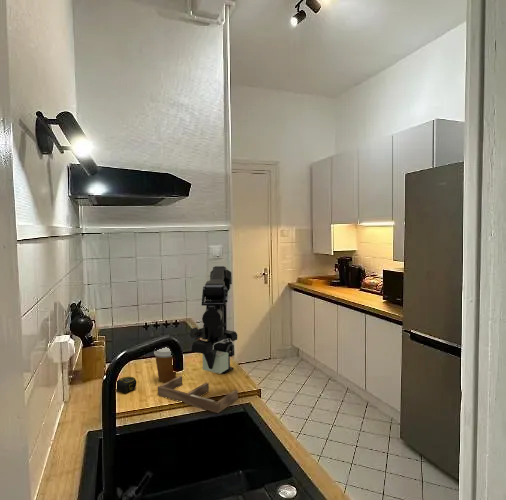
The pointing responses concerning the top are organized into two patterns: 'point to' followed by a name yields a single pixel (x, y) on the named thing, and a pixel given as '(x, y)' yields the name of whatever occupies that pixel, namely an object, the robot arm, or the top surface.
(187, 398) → the walnut comb rail
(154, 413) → the top surface
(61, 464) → the top surface
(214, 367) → the frame block
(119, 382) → the tape measure
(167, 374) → the disposable coffee cup
